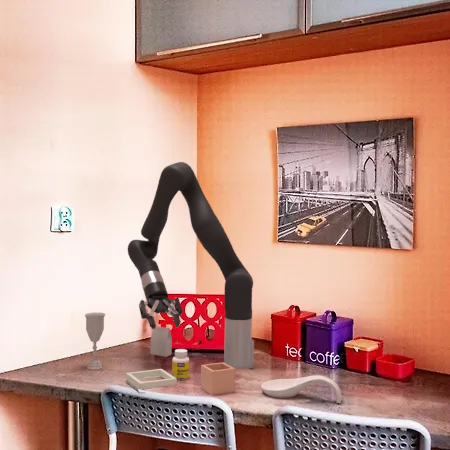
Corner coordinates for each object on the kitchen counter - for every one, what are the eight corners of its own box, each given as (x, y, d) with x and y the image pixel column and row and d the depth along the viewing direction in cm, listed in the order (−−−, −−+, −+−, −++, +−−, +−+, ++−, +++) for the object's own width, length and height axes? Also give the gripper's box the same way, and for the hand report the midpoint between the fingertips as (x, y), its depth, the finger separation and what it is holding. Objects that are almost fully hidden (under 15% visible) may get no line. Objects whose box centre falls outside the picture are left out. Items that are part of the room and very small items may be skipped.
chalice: (100, 371, 224) (100, 317, 223) (80, 369, 226) (81, 316, 224) (108, 365, 231) (108, 313, 230) (89, 363, 233) (89, 311, 232)
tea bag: (166, 356, 244) (166, 329, 244) (150, 354, 247) (150, 327, 247) (171, 354, 247) (171, 327, 247) (156, 352, 251) (156, 325, 250)
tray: (161, 377, 218) (161, 368, 218) (176, 387, 208) (176, 378, 208) (126, 381, 213) (126, 373, 213) (139, 392, 202) (139, 383, 202)
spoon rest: (257, 401, 197) (258, 377, 197) (264, 389, 208) (265, 366, 208) (339, 409, 191) (340, 384, 191) (342, 396, 203) (343, 373, 202)
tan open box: (222, 387, 208) (223, 362, 208) (234, 395, 202) (235, 368, 201) (200, 391, 205) (201, 365, 204) (212, 398, 198) (212, 371, 198)
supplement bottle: (176, 384, 211) (176, 353, 211) (169, 379, 216) (169, 349, 215) (191, 382, 214) (192, 351, 213) (184, 377, 219) (185, 347, 218)
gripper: (137, 281, 228) (149, 321, 218) (176, 279, 234) (189, 318, 225) (131, 294, 233) (143, 334, 223) (169, 292, 239) (182, 331, 230)
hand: (166, 326), depth 224 cm, fingers open, 8 cm apart
